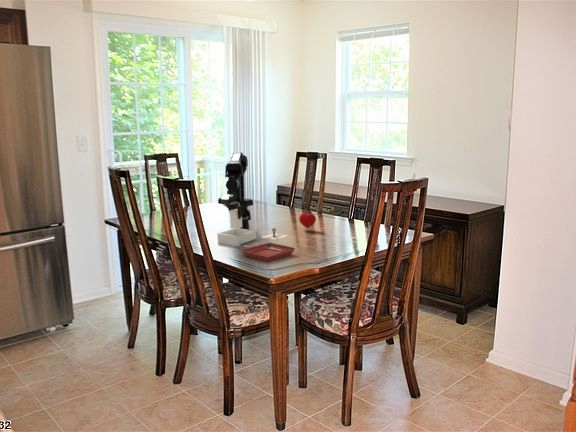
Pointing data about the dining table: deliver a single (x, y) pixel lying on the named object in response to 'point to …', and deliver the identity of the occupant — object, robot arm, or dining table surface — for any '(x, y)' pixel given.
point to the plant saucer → (268, 251)
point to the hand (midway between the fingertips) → (236, 218)
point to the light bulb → (307, 220)
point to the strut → (235, 219)
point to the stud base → (274, 235)
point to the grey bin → (236, 236)
